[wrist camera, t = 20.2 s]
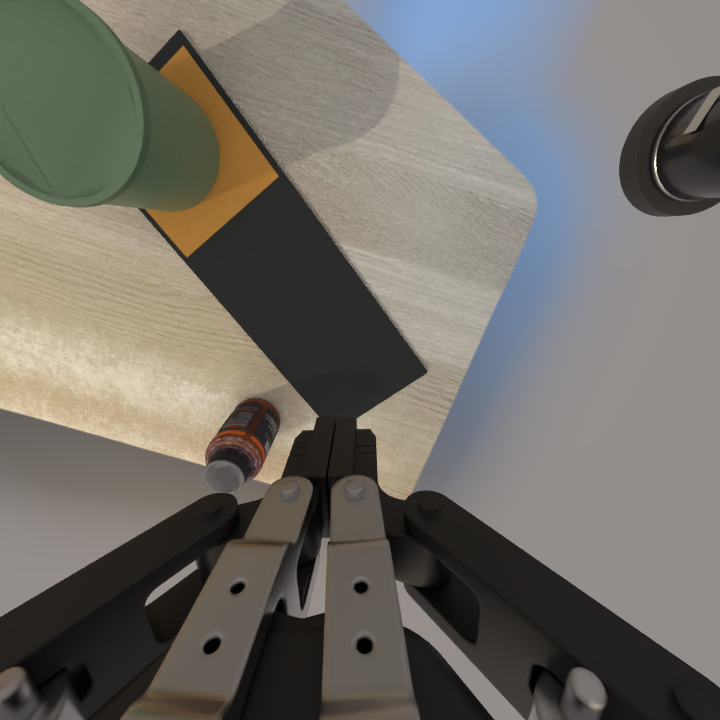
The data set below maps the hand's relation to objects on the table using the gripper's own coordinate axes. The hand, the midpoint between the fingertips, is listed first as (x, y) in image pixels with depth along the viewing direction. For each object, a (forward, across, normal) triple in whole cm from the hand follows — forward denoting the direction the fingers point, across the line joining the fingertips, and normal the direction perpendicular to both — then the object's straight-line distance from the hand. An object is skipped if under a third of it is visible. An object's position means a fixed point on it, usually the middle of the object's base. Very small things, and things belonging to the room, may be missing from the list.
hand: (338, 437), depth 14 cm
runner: (+27, +9, -4) cm, 29 cm away
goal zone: (+27, +16, -15) cm, 35 cm away
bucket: (+27, +18, -16) cm, 36 cm away
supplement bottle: (+27, +13, +14) cm, 33 cm away
